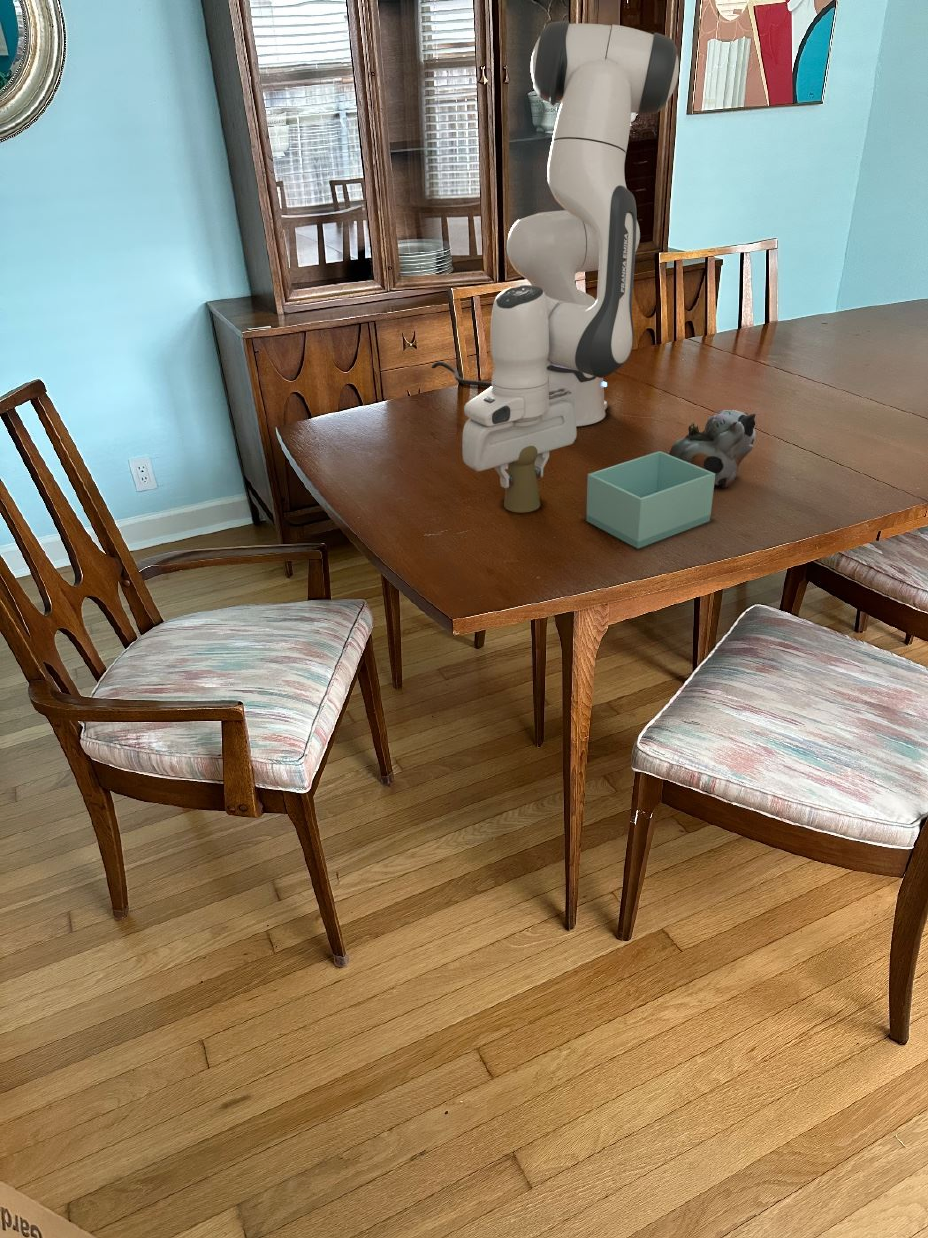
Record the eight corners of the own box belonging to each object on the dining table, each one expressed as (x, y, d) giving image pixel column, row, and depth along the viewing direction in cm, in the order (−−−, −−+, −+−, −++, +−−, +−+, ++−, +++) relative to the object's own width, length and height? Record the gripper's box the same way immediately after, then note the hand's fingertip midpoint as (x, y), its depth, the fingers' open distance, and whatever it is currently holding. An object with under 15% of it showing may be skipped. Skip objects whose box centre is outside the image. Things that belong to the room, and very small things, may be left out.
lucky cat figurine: (663, 459, 155) (703, 387, 150) (723, 489, 154) (765, 418, 149) (661, 467, 141) (704, 389, 136) (727, 501, 140) (773, 423, 135)
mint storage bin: (587, 474, 131) (641, 499, 123) (659, 450, 138) (715, 473, 129) (586, 521, 136) (637, 549, 127) (656, 496, 142) (710, 521, 133)
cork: (537, 513, 139) (537, 449, 133) (501, 511, 140) (499, 448, 134) (542, 497, 144) (542, 435, 138) (506, 496, 145) (505, 434, 139)
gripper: (561, 380, 139) (560, 460, 146) (454, 407, 130) (459, 491, 138) (586, 389, 134) (583, 471, 142) (477, 418, 126) (480, 504, 133)
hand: (521, 481), depth 140 cm, fingers closed on cork, 4 cm apart
